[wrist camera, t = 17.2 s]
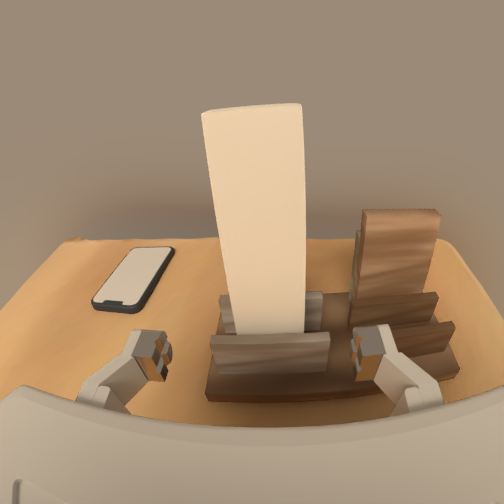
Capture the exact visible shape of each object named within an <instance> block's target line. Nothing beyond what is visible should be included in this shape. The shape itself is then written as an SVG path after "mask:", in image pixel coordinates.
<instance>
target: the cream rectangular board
mask: <svg viewBox="0 0 504 504" xmlns="http://www.w3.org/2000/svg"><path fill="white" fill-rule="evenodd" d="M201 118H202V125H203V132H204V139H205V147H206V154H207V161H208V167H209V174H210V181H211V187H212V194H213V200H214V207H215V213H216V219H217V225H218V232H219V238H220V244H221V250H222V256H223V261H224V267H225V273H226V279H227V284H228V290H229V295H230V301H231V306H232V312H233V317H234V323H235V328H236V333H237V335H276V334H300V333H304V319H305V282H306V201H305V199H306V198H305V163H304V138H303V119H302V106H301V105H300V104H299V103H290V104H269V105H255V106H243V107H234V108H224V109H217V110H209V111H206V112H204V113H202V114H201Z"/></svg>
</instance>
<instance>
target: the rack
mask: <svg viewBox="0 0 504 504" xmlns="http://www.w3.org/2000/svg"><path fill="white" fill-rule="evenodd" d="M438 299H439V297H438V295H437V293H436V292H428V293H423V292H422V293H419V294H409V295H399V296H388V297H377V298H365V299H352V300H351V301H349V292H347V293H332V294H322V291H316V292H305V319H304V333H300V334H276V335H237V333H236V328H235V323H234V317H233V312H232V306H231V301H230V295H220V298H219V305H220V310H221V313H220V318H219V323H218V328H217V333H216V335H212V336H211V340H210V346H211V350H212V359H211V364H210V369H209V374H208V380H207V385H206V390H205V394H206V397H207V399H208V401H219V402H296V401H314V400H327V399H338V398H347V397H356V396H364V395H371V394H378V393H384V392H383V391H382V390H381V389H380V388H379V386H378V385H377V384H376V383H375V382H374V381H373V380H367V381H356V382H355V379H354V374H353V366H354V363H353V362H352V361H351V358H350V342H351V340H352V339H353V334H352V333H353V329H354V327H363V326H372V325H383V324H388V325H389V327H390V330H391V333H392V335H393V338H394V341H395V344H396V347H397V350H398V353H399V352H402V353H403V354H404V355H405V356H407V357H408V358H409V359H410V360H412V361H413V362H414V363H415V364H416V365H418V366H419V367H420V368H421V369H423V370H424V371H425V372H426V373H427V374H429V375H430V376H431V377H432V378H434V379H435V380H436V381H437V382H439V381H444V380H448V379H451V378H455V376H456V375H457V373H458V372H459V370H460V368H459V366H458V363H457V361H456V359H455V356H454V354H453V352H452V350H451V348H450V345H449V341H450V339H451V337H452V335H453V333H454V331H455V329H456V328H455V326H454V324H453V322H452V321H449V322H443V323H438V321H437V319H436V317H435V315H434V313H433V312H434V310H435V307H436V304H437V301H438Z"/></svg>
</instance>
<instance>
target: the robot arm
mask: <svg viewBox="0 0 504 504" xmlns="http://www.w3.org/2000/svg"><path fill="white" fill-rule="evenodd" d="M352 334H353V339H352V340H351V342H350V358H351V361H352V362H353V363H354V366H353V374H354V379H355V382H356V381H367V380H373V381H374V382H375V383H376V384H377V385H378V386H379V388H380V389H381V390H382V391H383V392H384V393H385V394H386V395H387V396H388V398H389V399H390V400H391V401H392V402H393V403H394V404H395V405H396V406H395V408H394V409H393V411H392V413H391V414H390V416H389V417H386V418H380V419H374V420H367V421H360V422H352V423H343V424H333V425H321V426H306V427H274V428H261V427H229V426H213V425H201V424H191V423H182V422H174V421H166V420H160V419H153V418H147V417H142V416H136V415H131V413H130V412H129V411H128V410H127V408H126V407H125V405H126V404H127V403H128V402H129V401H130V400H131V399H132V398H133V397H134V396H135V395H136V394H137V393H138V392H139V391H140V390H141V389H142V388H143V387H144V386H145V385H146V383H147V382H148V381H159V382H165V380H166V377H167V373H168V369H167V367H166V366H167V365H168V364H170V363H171V360H172V346H171V344H170V343H169V342H168V341H167V340H166V339H167V335H166V333H165V332H164V331H155V330H141V329H134V330H133V331H132V332H131V334H130V336H129V338H128V340H127V343H126V345H125V347H124V349H123V352H122V354H121V355H118V356H116V357H115V358H114V359H112V360H111V361H110V362H108V363H107V364H106V365H104V366H103V367H102V368H101V369H99V370H98V371H97V372H95V373H94V374H93V375H91V376H90V377H89V378H87V379H86V380H85V381H84V382H83V385H82V387H81V389H80V391H79V393H78V396H77V398H76V400H75V401H73V400H70V399H66V398H63V397H60V396H57V395H54V394H51V393H48V392H45V391H42V390H39V389H36V388H34V387H31V386H28V385H21V386H19V387H17V388H16V389H14V390H13V391H12V392H10V393H9V394H8V395H6V396H5V397H4V398H3V399H2V401H1V403H0V504H504V385H502V386H499V387H497V388H494V389H492V390H489V391H486V392H483V393H480V394H477V395H474V396H471V397H468V398H465V399H462V400H459V401H455V402H452V403H448V404H444V401H443V398H442V395H441V391H440V388H439V386H438V383H437V381H436V380H435V379H434V378H432V377H431V376H430V375H429V374H427V373H426V372H425V371H424V370H423V369H421V368H420V367H419V366H418V365H416V364H415V363H414V362H413V361H412V360H410V359H409V358H408V357H407V356H405V355H404V354H403V353H402V352H399V353H398V350H397V347H396V344H395V341H394V338H393V335H392V333H391V330H390V327H389V325H388V324H383V325H372V326H363V327H354V329H353V333H352Z"/></svg>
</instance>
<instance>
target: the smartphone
mask: <svg viewBox="0 0 504 504" xmlns="http://www.w3.org/2000/svg"><path fill="white" fill-rule="evenodd" d="M173 255H174V249H173V248H172V247H136V248H133V249H132V250H130V252H129V253H128V254H127V255H126V256H125V258H124V259H123V260H122V261H121V263H120V264H119V265H118V266H117V267H116V269H115V270H114V271H113V272H112V274H111V275H110V276H109V278H108V279H107V280H106V281H105V283H104V284H103V285H102V286H101V288H100V289H99V290H98V292H97V293H96V294H95V296H94V297H93V298H92V300H91V303H92V306H93V308H94V309H95V310H98V311H107V312H117V313H127V314H135V313H138V312H140V311H141V310H142V309H143V307H144V305H145V304H146V302H147V300H148V298H149V297H150V295H151V293H152V291H153V290H154V288H155V286H156V284H157V283H158V281H159V279H160V277H161V276H162V274H163V272H164V271H165V269H166V267H167V265H168V264H169V262H170V260H171V259H172V257H173Z"/></svg>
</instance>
